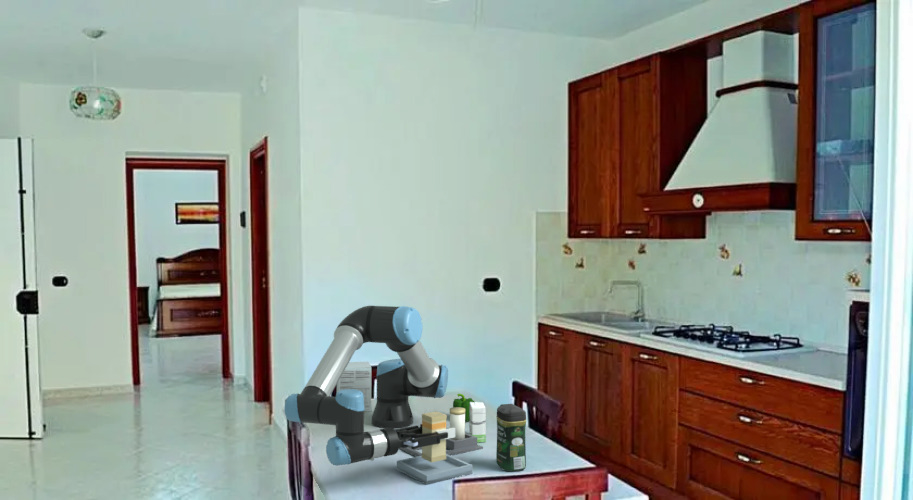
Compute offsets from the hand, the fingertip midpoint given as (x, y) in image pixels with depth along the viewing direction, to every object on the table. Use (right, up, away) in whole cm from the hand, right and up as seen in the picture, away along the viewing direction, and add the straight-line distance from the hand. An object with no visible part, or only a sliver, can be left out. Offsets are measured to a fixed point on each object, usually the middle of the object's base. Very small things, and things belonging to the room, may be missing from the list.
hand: (448, 430), depth 213 cm
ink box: (+9, -11, +31) cm, 34 cm away
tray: (-4, -11, -3) cm, 12 cm away
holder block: (-3, -11, +20) cm, 23 cm away
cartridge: (+2, -11, +23) cm, 26 cm away
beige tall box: (-4, -8, -3) cm, 9 cm away
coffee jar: (+19, -12, +2) cm, 22 cm away
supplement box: (-39, -10, +72) cm, 83 cm away
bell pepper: (+5, -10, +55) cm, 56 cm away
